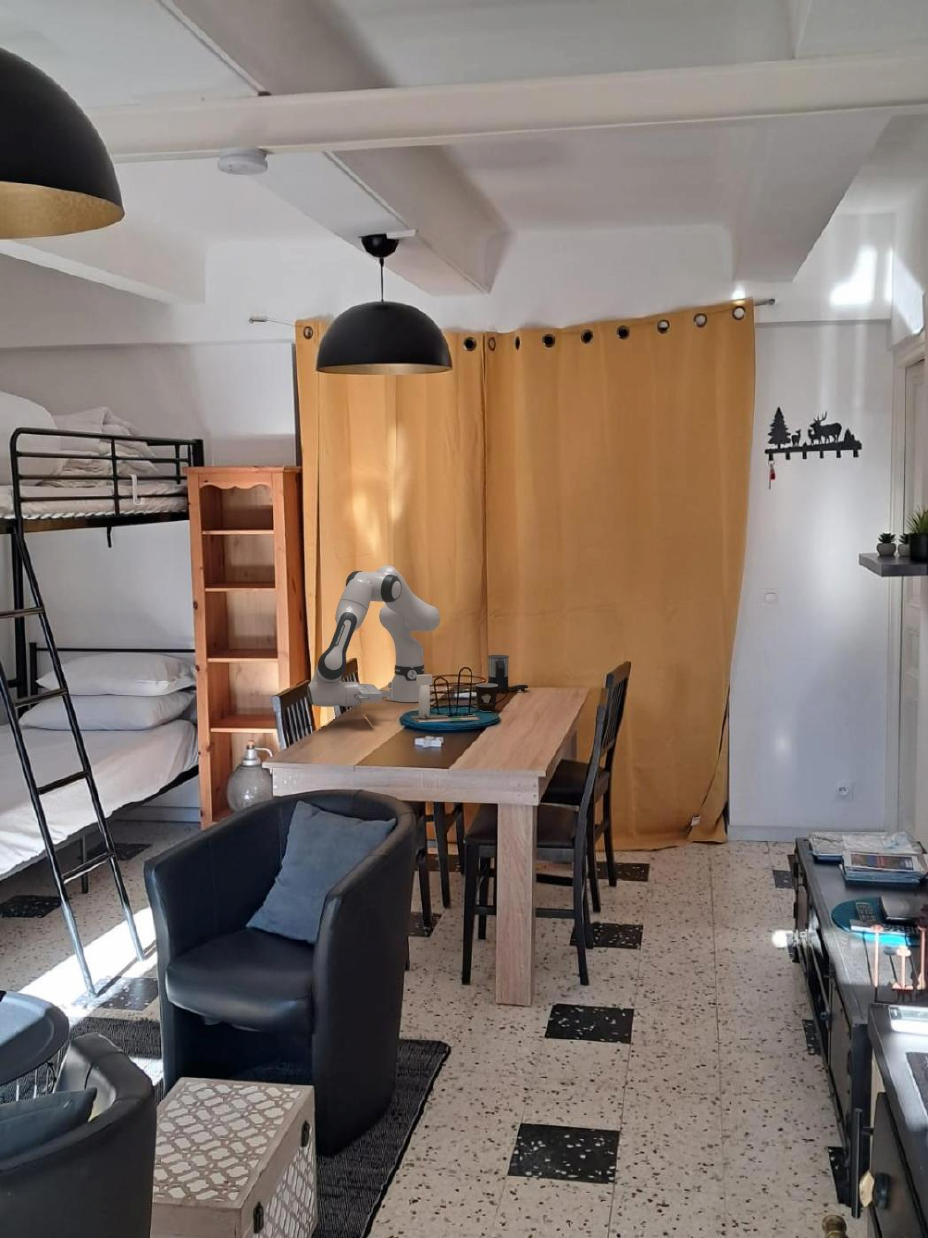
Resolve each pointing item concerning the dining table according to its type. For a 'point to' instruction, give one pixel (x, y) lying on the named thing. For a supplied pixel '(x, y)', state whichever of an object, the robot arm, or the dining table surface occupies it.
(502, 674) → the milk frother
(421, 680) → the peg
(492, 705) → the coffee mug
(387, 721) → the dining table surface
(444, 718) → the tuner board
